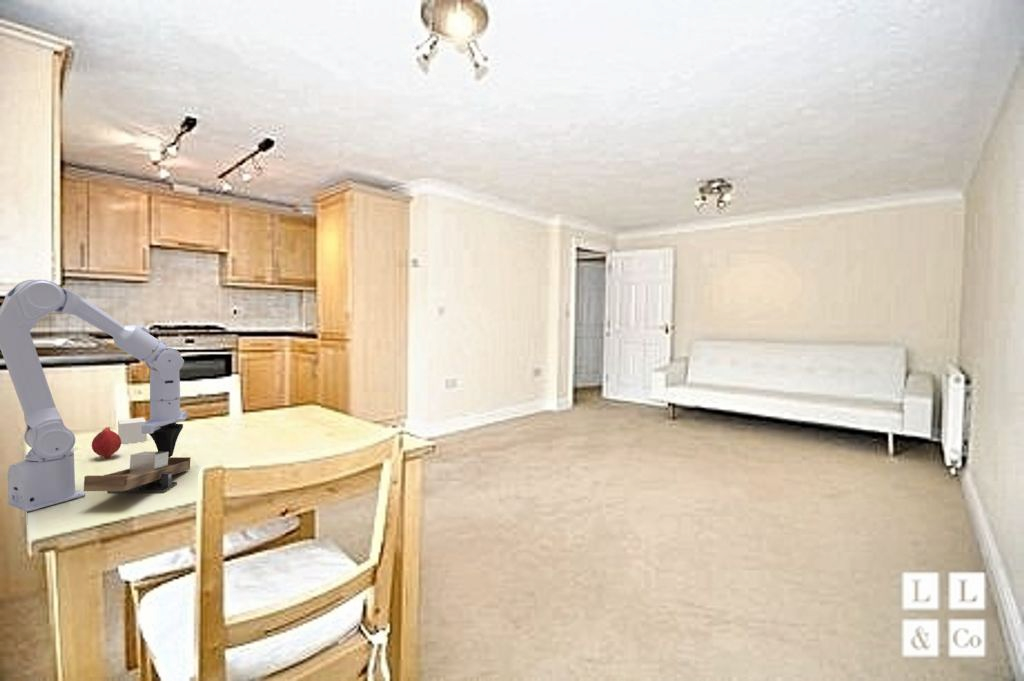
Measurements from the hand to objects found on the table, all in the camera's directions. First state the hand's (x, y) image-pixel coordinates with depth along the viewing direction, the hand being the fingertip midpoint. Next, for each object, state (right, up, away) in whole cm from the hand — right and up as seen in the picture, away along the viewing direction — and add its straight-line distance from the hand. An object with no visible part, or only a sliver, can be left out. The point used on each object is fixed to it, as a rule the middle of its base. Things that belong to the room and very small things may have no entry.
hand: (166, 456), depth 117 cm
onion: (-23, -3, +11) cm, 25 cm away
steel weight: (+1, -2, -7) cm, 7 cm away
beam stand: (+1, -5, -8) cm, 10 cm away
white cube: (-28, -2, +26) cm, 38 cm away
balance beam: (+1, -2, -9) cm, 9 cm away
